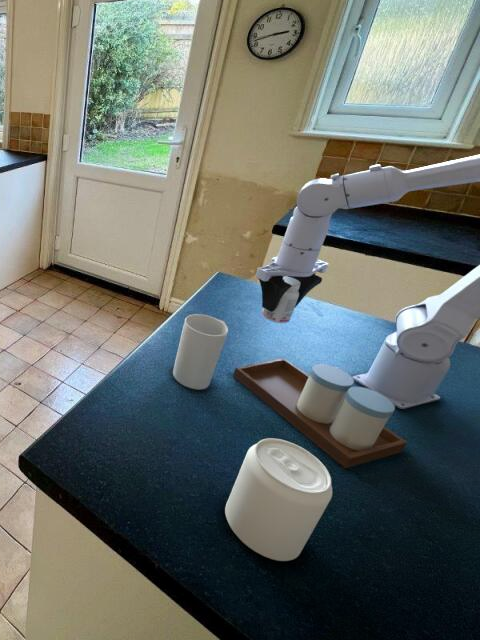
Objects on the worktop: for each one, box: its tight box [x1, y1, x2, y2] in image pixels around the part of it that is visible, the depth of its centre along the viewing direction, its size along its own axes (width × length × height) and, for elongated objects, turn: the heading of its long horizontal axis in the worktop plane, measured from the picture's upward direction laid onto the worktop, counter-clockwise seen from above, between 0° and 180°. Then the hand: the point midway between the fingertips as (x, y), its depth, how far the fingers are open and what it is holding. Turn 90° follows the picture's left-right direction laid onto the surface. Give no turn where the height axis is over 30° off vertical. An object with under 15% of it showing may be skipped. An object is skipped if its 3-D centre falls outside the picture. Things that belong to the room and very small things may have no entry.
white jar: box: [297, 363, 355, 423], centre depth 67 cm, size 5×5×8 cm
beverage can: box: [224, 437, 333, 562], centre depth 50 cm, size 8×8×12 cm
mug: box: [172, 313, 229, 390], centre depth 75 cm, size 10×7×12 cm, turn 118°
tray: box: [232, 357, 408, 469], centre depth 70 cm, size 11×20×2 cm, turn 14°
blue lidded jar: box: [330, 386, 396, 451], centre depth 62 cm, size 5×5×8 cm
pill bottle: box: [261, 276, 300, 324], centre depth 81 cm, size 5×5×8 cm
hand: (278, 307), depth 82 cm, fingers closed on pill bottle, 5 cm apart
